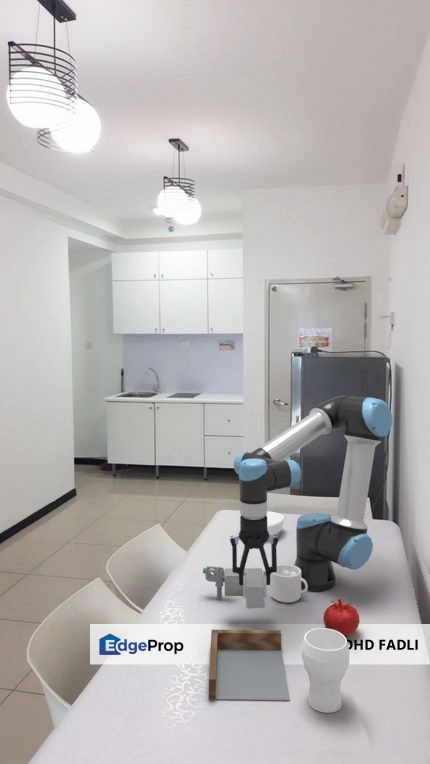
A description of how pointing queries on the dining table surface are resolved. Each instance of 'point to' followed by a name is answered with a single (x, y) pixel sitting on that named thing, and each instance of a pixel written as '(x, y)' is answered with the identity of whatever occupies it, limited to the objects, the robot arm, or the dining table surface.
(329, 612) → the pomegranate
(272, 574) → the mug
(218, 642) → the corner walls
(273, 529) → the bowl
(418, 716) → the dining table surface
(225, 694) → the slate mat
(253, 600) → the bracket
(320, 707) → the cup
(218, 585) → the mechanical component
